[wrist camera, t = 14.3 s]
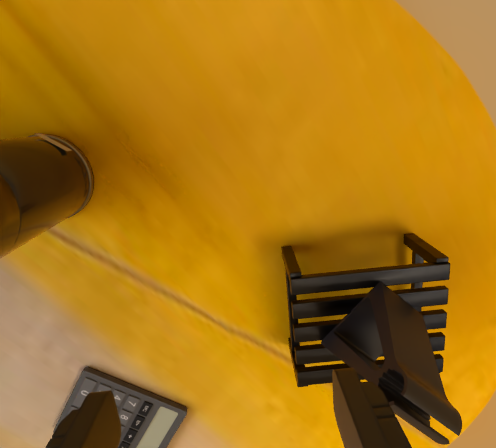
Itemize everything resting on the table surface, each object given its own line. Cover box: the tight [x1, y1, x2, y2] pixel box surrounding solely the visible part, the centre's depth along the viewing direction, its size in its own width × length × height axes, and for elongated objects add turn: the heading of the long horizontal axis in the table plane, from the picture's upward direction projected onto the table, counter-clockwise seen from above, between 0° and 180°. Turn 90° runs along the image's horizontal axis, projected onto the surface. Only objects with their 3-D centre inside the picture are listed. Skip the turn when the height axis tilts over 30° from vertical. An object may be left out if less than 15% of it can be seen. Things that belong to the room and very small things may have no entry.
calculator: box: [53, 367, 187, 448], centre depth 50 cm, size 12×1×15 cm
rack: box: [281, 233, 450, 387], centre depth 42 cm, size 16×14×8 cm
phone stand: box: [321, 282, 462, 444], centre depth 32 cm, size 9×6×12 cm, turn 141°
